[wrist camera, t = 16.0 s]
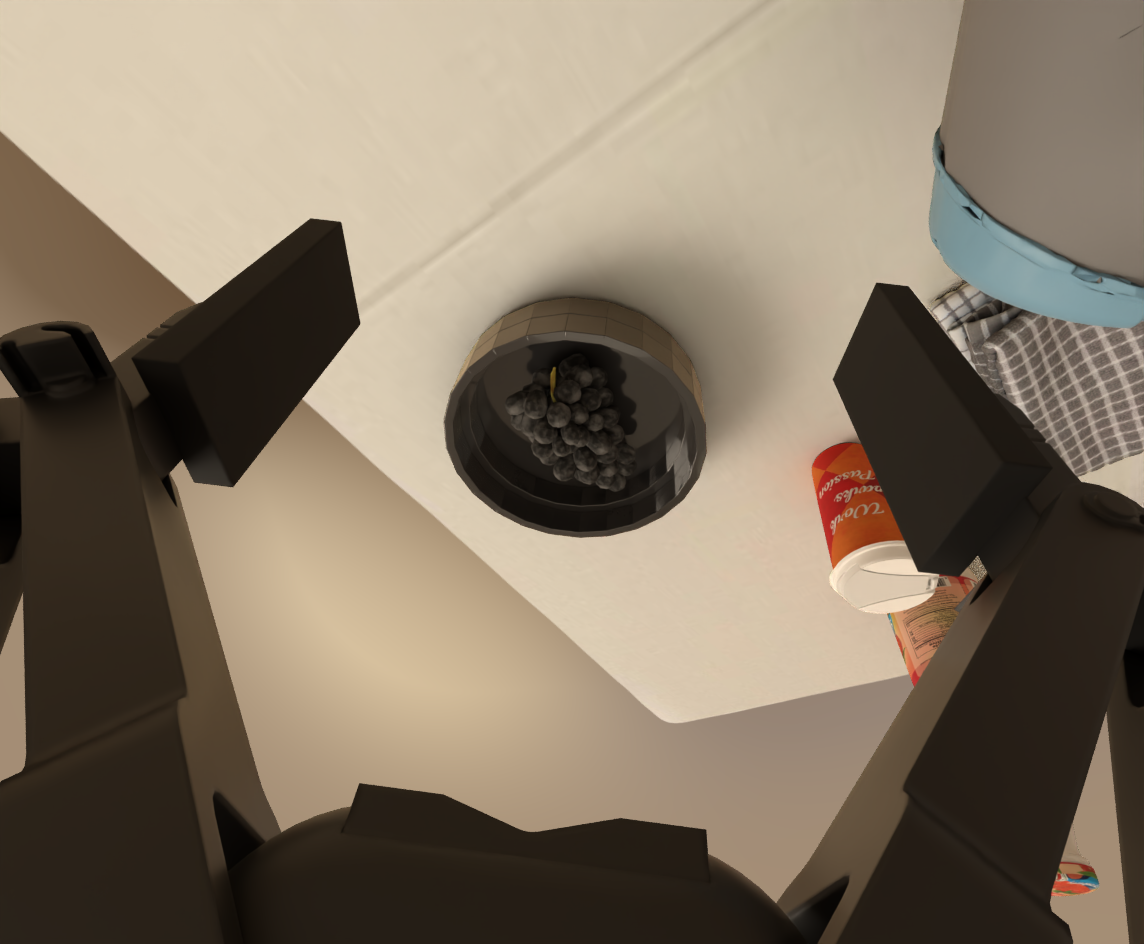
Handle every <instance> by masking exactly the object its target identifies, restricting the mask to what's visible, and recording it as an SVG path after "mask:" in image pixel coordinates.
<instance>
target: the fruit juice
mask: <svg viewBox="0 0 1144 944" xmlns="http://www.w3.org/2000/svg"><path fill="white" fill-rule="evenodd" d="M978 582H979V581H978V579H977V578H976V576H975V575H974V573H973V572H972V571H971V570H970V569H969V568H968V567H967V568H966V570H965V571H964V572H963V573H962V574H961V575H960V577H955V576H947V575H939V579H938V583H937V588H935V593H934V594H933V595H932V596H931V597H930V598H929V599H928V600H926V601H925V602H923V603H921V604H919V605H917V606H915V607H913V608H910V609H907V610H903V611H899V612H893V613H887V615H888V618H889V620H890V623H891V626H892V628H893V631H894V634H895V637H896V639H897V642H898V645H899V647H900V650H901V653H902V656H903V658H904V661H905V664H906V666H907V669H908V672H909V675H910V677H911V680H912V683H913V685H914V687H915V685H916V683H917V682H918V680H919V678H920V677H921V675H922V673H923V672H924V670H925V668H926V667H927V665H928V663H929V662H930V660H931V658H932V657H933V655H934V653H935V652H936V650H937V649H938V647H939V645H940V644H941V642H942V640H943V639H944V637H945V635H946V634H947V632H948V630H949V629H950V627H951V625H952V624H953V622H954V620H955V619H956V617H957V615H958V614H959V612H957V611H956V610H954V609H955V608H956V606H957V605H958V604H959V603H960V602H961V601H962V600H963V599H964V598H965V597H966V595H967V594H968V593H969V592H970V591H971V590H972V589H973V588H974V587H975V586H976V584H977V583H978ZM1098 888H1099V882H1098V879H1097V876H1096V874H1095V871H1094V869H1093V868H1092V867H1091V866H1090V863H1089V861H1088V860H1087V859H1086V858H1084V857H1082V856H1081V854H1080V852H1079V849H1078V846H1077V842H1076V838H1075V832H1074V827H1073V823H1072V826H1071V829H1070V833H1069V836H1068V839H1067V843H1066V846H1065V849H1064V853H1063V856H1062V859H1061V862H1060V866H1059V869H1058V872H1057V876H1056V879H1055V882H1054V886H1053V889H1052V893H1051V896H1072V895H1080V894H1085V893H1089V892H1092V891H1095V890H1097V889H1098Z"/></svg>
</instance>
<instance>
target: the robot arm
mask: <svg viewBox="0 0 1144 944" xmlns="http://www.w3.org/2000/svg"><path fill="white" fill-rule="evenodd" d="M932 150H933V162H934V165H935V175H934V183H933V190H932V198H931V205H930V213H929V229H930V235H931V239H932V241H933V243H934V244H935V246H936V247H937V248H938V250H939V251H940V254H941V255H942V257H943V260H944V262H945V263H946V264H947V266H948V267H949V268H950V269H951V270H952V271H953V272H954V273H956V274H957V275H958V276H959V277H961V278H962V279H963V280H964V281H966V282H967V283H969V284H970V285H972V286H973V287H975V288H976V289H978V290H980V291H982V292H983V293H985V294H987V295H989V296H991V297H993V298H995V299H998V300H1000V301H1002V302H1005V303H1007V304H1010V305H1012V306H1015V307H1018V308H1021V309H1024V310H1027V311H1030V312H1033V313H1036V314H1040V315H1043V316H1047V317H1051V318H1056V319H1060V320H1064V321H1069V322H1074V323H1080V324H1086V325H1093V326H1102V327H1114V328H1127V329H1128V328H1132V327H1134V326H1136V325H1137V324H1139V323H1140V322H1141V321H1144V0H965V1H964V6H963V11H962V17H961V22H960V27H959V33H958V38H957V43H956V48H955V54H954V59H953V64H952V70H951V75H950V80H949V85H948V91H947V96H946V101H945V107H944V112H943V117H942V122H941V125H940V127H939V128H938V130H937V131H936V133H935V137H934V142H933V148H932ZM359 325H360V319H359V314H358V308H357V303H356V298H355V292H354V287H353V282H352V277H351V271H350V266H349V261H348V255H347V250H346V245H345V239H344V234H343V229H342V224H341V222H337V221H328V220H320V219H309V220H308V221H307V222H305V223H304V224H303V225H302V226H300V227H299V228H298V229H296V230H295V231H294V232H293V233H291V234H290V235H289V236H287V237H286V238H285V239H284V240H282V241H281V242H280V243H278V244H277V245H276V246H275V247H273V248H272V249H271V250H269V251H268V252H267V253H266V254H264V255H263V256H262V257H260V258H259V259H258V260H257V261H255V262H254V263H253V264H251V265H250V266H249V267H247V268H246V269H245V270H244V271H242V272H241V273H240V274H238V275H237V276H236V277H235V278H233V279H232V280H231V281H229V282H228V283H227V284H226V285H224V286H223V287H222V288H220V289H219V290H218V291H217V292H215V293H214V294H213V295H211V296H210V297H209V298H208V299H206V300H205V301H204V302H201V303H198V304H196V305H194V306H191V307H189V308H186V309H184V310H181V311H179V312H177V313H175V314H174V315H173V316H171V317H170V318H169V319H167V320H166V321H165V322H163V323H162V324H161V325H160V328H155V329H154V330H153V331H152V332H150V333H149V334H148V335H147V338H142V339H141V340H140V341H138V342H137V343H136V344H135V345H133V346H132V347H130V348H129V349H128V350H126V351H125V352H124V353H122V354H121V355H120V356H118V357H117V358H116V359H115V360H113V361H112V362H109V360H108V358H107V356H106V355H105V352H104V350H103V348H102V347H101V345H100V343H99V341H98V339H97V337H96V335H95V334H94V332H93V331H92V329H91V328H90V327H89V326H88V325H85V324H82V323H79V322H70V321H56V322H46V323H39V324H35V325H31V326H27V327H23V328H20V329H17V330H15V331H12V332H10V333H8V334H5V335H3V336H2V337H1V338H0V370H1V371H2V373H3V374H4V376H5V377H6V379H7V380H8V381H9V383H10V384H11V385H12V387H13V389H14V390H15V391H16V393H17V394H18V396H19V397H17V398H16V397H15V398H1V399H0V654H1V651H2V648H3V645H4V642H5V640H6V637H7V634H8V632H9V629H10V626H11V623H12V620H13V618H14V615H15V612H16V610H17V607H18V604H19V601H20V599H21V596H22V593H23V611H24V613H23V614H24V659H25V660H24V664H25V713H26V761H25V767H24V768H23V770H22V772H20V773H18V774H15V775H13V776H11V777H9V778H7V779H4V780H2V781H1V782H0V944H1073V939H1072V936H1071V932H1070V928H1069V925H1068V924H1067V923H1065V922H1064V921H1063V920H1062V919H1061V918H1059V917H1058V916H1057V915H1056V914H1054V913H1053V912H1052V910H1051V906H1050V899H1051V893H1052V889H1053V886H1054V882H1055V879H1056V876H1057V872H1058V869H1059V866H1060V862H1061V859H1062V856H1063V853H1064V849H1065V846H1066V843H1067V839H1068V836H1069V833H1070V829H1071V826H1072V823H1073V820H1074V816H1075V813H1076V810H1077V806H1078V803H1079V799H1080V796H1081V793H1082V789H1083V786H1084V783H1085V780H1086V777H1087V773H1088V770H1089V767H1090V763H1091V760H1092V756H1093V754H1094V750H1095V747H1096V744H1097V740H1098V737H1099V734H1100V730H1101V727H1102V724H1103V721H1104V717H1105V714H1106V712H1107V722H1108V732H1109V741H1110V752H1111V762H1112V772H1113V782H1114V792H1115V802H1116V812H1117V822H1118V833H1119V843H1120V852H1121V863H1122V873H1123V883H1124V893H1125V903H1126V913H1127V923H1128V932H1129V944H1144V508H1142V507H1141V506H1140V505H1139V504H1137V503H1136V502H1135V501H1133V500H1131V499H1129V498H1128V497H1126V496H1124V495H1122V494H1120V493H1119V492H1116V491H1114V490H1111V489H1108V488H1106V487H1103V486H1100V485H1095V484H1090V483H1085V482H1081V481H1080V480H1079V479H1078V477H1077V476H1076V475H1075V474H1074V473H1073V471H1072V470H1071V469H1070V468H1069V467H1068V465H1067V464H1066V463H1065V462H1064V461H1063V459H1062V458H1061V457H1060V456H1059V455H1058V453H1057V452H1056V451H1055V450H1054V449H1053V447H1052V446H1051V445H1050V444H1049V443H1046V439H1045V438H1044V436H1043V435H1042V434H1041V433H1040V432H1039V430H1037V429H1034V427H1035V426H1034V424H1033V423H1032V422H1031V421H1030V420H1029V418H1028V417H1027V416H1026V415H1025V414H1024V412H1023V411H1022V410H1021V409H1020V408H1018V407H1017V406H1015V405H1014V404H1013V403H1011V402H1010V401H1008V400H1007V399H1006V398H1004V397H1003V396H1001V395H1000V394H997V393H993V392H992V391H991V389H990V388H989V387H988V386H987V384H986V383H985V382H984V381H983V379H982V378H981V377H980V376H979V374H978V373H977V372H976V371H975V369H974V368H973V367H972V366H971V364H970V363H969V362H968V361H967V359H966V358H965V357H964V356H963V354H962V353H961V352H960V351H959V349H958V348H957V347H956V345H955V344H954V343H953V342H952V340H951V339H950V338H949V337H948V335H947V334H946V333H945V332H944V330H943V329H942V328H941V327H940V325H939V324H938V323H937V322H936V320H935V319H934V318H933V317H932V315H931V314H930V313H929V312H928V310H927V309H926V308H925V307H924V305H923V304H922V303H921V302H920V300H919V299H918V298H917V297H916V295H915V294H914V293H913V292H912V290H911V289H910V288H909V287H908V286H901V285H892V284H883V283H876V285H875V287H874V289H873V291H872V294H871V296H870V298H869V300H868V302H867V305H866V307H865V309H864V311H863V314H862V316H861V318H860V320H859V322H858V325H857V327H856V329H855V331H854V334H853V336H852V338H851V340H850V342H849V345H848V347H847V349H846V351H845V353H844V356H843V358H842V360H841V362H840V365H839V367H838V369H837V371H836V373H835V376H834V378H833V381H834V383H835V385H836V388H837V390H838V392H839V394H840V397H841V399H842V401H843V403H844V406H845V408H846V410H847V412H848V415H849V417H850V419H851V421H852V424H853V426H854V428H855V430H856V433H857V435H858V437H859V440H860V442H861V444H862V446H863V449H864V451H865V453H866V455H867V458H868V460H869V462H870V464H871V467H872V469H873V471H874V473H875V476H876V478H877V480H878V482H879V485H880V487H881V489H882V491H883V494H884V496H885V498H886V501H887V503H888V505H889V507H890V510H891V512H892V514H893V516H894V519H895V521H896V523H897V525H898V528H899V530H900V532H901V534H902V537H903V539H904V541H905V543H906V546H907V548H908V550H909V552H910V555H911V557H912V559H913V562H914V564H915V566H916V568H917V571H918V572H923V573H931V574H939V575H947V576H955V577H960V575H961V574H962V573H963V572H964V571H965V570H966V568H967V567H968V566H969V565H970V564H971V563H972V561H973V560H974V559H975V558H976V557H977V556H979V558H980V560H981V562H982V563H983V565H984V567H985V569H986V571H987V573H986V575H985V576H984V577H983V578H982V579H981V580H980V581H979V582H978V583H977V584H976V586H975V587H974V588H973V589H972V590H971V591H970V592H969V593H968V594H967V595H966V597H965V598H964V599H963V600H962V601H961V602H960V603H959V604H958V605H957V606H956V608H955V609H954V610H956V611H957V612H959V614H958V615H957V617H956V619H955V620H954V622H953V624H952V625H951V627H950V629H949V630H948V632H947V634H946V635H945V637H944V639H943V640H942V642H941V644H940V645H939V647H938V649H937V650H936V652H935V653H934V655H933V657H932V658H931V660H930V662H929V663H928V665H927V667H926V668H925V670H924V672H923V673H922V675H921V677H920V678H919V680H918V682H917V683H916V685H915V687H914V689H913V690H912V692H911V693H910V695H909V697H908V698H907V700H906V701H905V703H904V705H903V706H902V708H901V710H900V711H899V713H898V715H897V716H896V718H895V720H894V721H893V723H892V725H891V726H890V728H889V730H888V731H887V733H886V735H885V736H884V738H883V740H882V741H881V743H880V744H879V746H878V748H877V749H876V751H875V753H874V754H873V756H872V758H871V760H870V761H869V763H868V764H867V766H866V768H865V769H864V771H863V773H862V774H861V776H860V778H859V779H858V781H857V782H856V784H855V786H854V787H853V789H852V791H851V792H850V794H849V796H848V797H847V799H846V801H845V802H844V804H843V806H842V807H841V809H840V811H839V812H838V814H837V816H836V817H835V819H834V820H833V822H832V824H831V826H830V827H829V829H828V831H827V832H826V834H825V835H824V837H823V839H822V840H821V842H820V844H819V846H818V847H817V849H816V850H815V852H814V854H813V855H812V857H811V858H810V860H809V861H808V863H807V864H806V865H805V867H804V868H803V869H802V871H801V872H800V873H799V874H798V875H797V877H796V878H795V879H794V880H793V882H792V883H791V884H790V885H789V887H788V888H787V889H786V890H785V892H784V893H783V895H782V896H781V897H780V899H779V900H778V901H777V903H775V902H774V901H773V900H772V899H771V898H770V897H769V896H768V895H767V894H766V893H765V892H764V891H763V890H762V889H761V888H759V887H758V886H757V885H756V884H754V883H753V882H752V881H751V880H749V879H748V878H747V877H745V876H744V875H743V874H742V873H740V872H739V871H737V870H735V869H734V868H732V867H730V866H729V865H727V864H726V863H724V862H723V861H721V860H719V859H718V858H715V857H713V856H711V855H709V854H708V848H707V834H706V830H705V829H698V828H689V827H683V826H674V825H668V824H660V823H652V822H645V821H637V820H630V819H623V818H619V819H613V820H606V821H600V822H594V823H589V824H582V825H576V826H570V827H564V828H558V829H552V830H546V831H540V832H526V831H522V830H520V829H517V828H515V827H513V826H511V825H509V824H507V823H504V822H502V821H500V820H498V819H495V818H493V817H491V816H489V815H487V814H484V813H483V812H480V811H478V810H476V809H474V808H472V807H469V806H467V805H465V804H463V803H461V802H458V801H456V800H454V799H452V798H450V797H448V796H446V795H443V794H435V793H428V792H421V791H413V790H406V789H398V788H391V787H383V786H375V785H368V784H361V783H360V784H359V786H358V789H357V792H356V794H355V798H354V800H353V803H352V806H351V807H346V808H341V809H337V810H334V811H330V812H327V813H324V814H320V815H317V816H315V817H313V818H311V819H308V820H305V821H303V822H301V823H298V824H296V825H294V826H292V827H291V828H289V829H287V830H285V831H283V832H281V830H280V828H279V825H278V823H277V820H276V818H275V816H274V813H273V811H272V809H271V807H270V805H269V803H268V801H267V799H266V796H265V794H264V791H263V789H262V786H261V782H260V779H259V776H258V772H257V769H256V766H255V762H254V758H253V755H252V751H251V748H250V745H249V740H248V737H247V733H246V730H245V727H244V723H243V719H242V716H241V712H240V709H239V705H238V702H237V698H236V694H235V691H234V687H233V684H232V680H231V677H230V674H229V670H228V666H227V663H226V659H225V655H224V652H223V649H222V645H221V641H220V638H219V634H218V631H217V627H216V624H215V620H214V616H213V613H212V610H211V606H210V602H209V599H208V595H207V592H206V588H205V585H204V581H203V578H202V574H201V570H200V567H199V564H198V560H197V556H196V553H195V550H194V546H193V542H192V539H191V535H190V532H189V528H188V524H187V521H186V517H185V514H184V510H183V507H182V503H181V500H180V496H179V492H178V489H177V486H176V484H175V482H174V480H173V479H172V477H171V475H170V472H171V471H172V470H173V469H174V468H175V466H176V465H177V464H178V463H179V462H180V461H181V460H182V459H183V461H184V463H185V465H186V467H187V469H188V471H189V473H190V475H191V477H192V479H193V481H194V482H195V483H203V484H211V485H219V486H227V487H233V486H234V485H235V484H236V483H237V482H238V480H239V479H240V478H241V477H242V475H243V474H244V473H245V471H246V470H247V469H248V468H249V466H250V465H251V464H252V462H253V461H254V460H255V459H256V457H257V456H258V455H259V453H260V452H261V451H262V450H263V448H264V447H265V446H266V444H267V443H268V442H269V440H270V439H271V438H272V437H273V435H274V434H275V433H276V432H277V430H278V429H279V428H280V427H281V425H282V424H283V423H284V421H285V420H286V419H287V418H288V416H289V415H290V414H291V412H292V411H293V410H294V408H295V407H296V406H297V405H298V403H299V402H300V401H301V400H302V398H303V397H304V396H305V394H306V393H307V392H308V391H309V389H310V388H311V387H312V386H313V384H314V383H315V382H316V380H317V379H318V378H319V377H320V375H321V374H322V373H323V371H324V370H325V369H326V368H327V366H328V365H329V364H330V362H331V361H332V360H333V359H334V357H335V356H336V355H337V353H338V352H339V351H340V350H341V348H342V347H343V346H344V344H345V343H346V342H347V341H348V339H349V338H350V337H351V336H352V334H353V333H354V332H355V330H356V329H357V328H358V327H359Z"/></svg>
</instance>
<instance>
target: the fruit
mask: <svg viewBox="0 0 1144 944" xmlns="http://www.w3.org/2000/svg"><path fill="white" fill-rule="evenodd" d="M607 381H608V379H607V373H606V372H605V370H604V369H603V368H600V367H592V368H590V367H589V361H588V360H587V359H586V357H585V356H584V355H582V354H580V353H579V354H573V355H572V356H570V357H568V358H566V359H564V360H562V362H561V363H560V365H559V371H557V373H556V367H553V370H552V371H551V370H549V369H547V368H541V369H538V370H537V371H535V372H534V373H533V378H532V383H531V384H528V385H526V386H523V388H522V390H521V391H518V392H516V393H514V394H512V395H510V396H509V397H508V398H507V400H506V402H505V404H504V405H505V408H506V411H507V412H508V413H509V414H510V415H512V416H511V424H512V425H513V427H514V428H515V429H517V430H521V432H523V433H524V434H525V435H526V436H528V438H529V440H530V441H531V442H532V445H531V448H532V451H533V454H534V455H535V456H536V457H538V458H539V459H540V460H541V462H542V463H543V464H546V465H548V466H550V465H554V464H555V465H554V468H553V473H554V475H555V477H556V478H557V479H559V480H560V481H565V482H566V481H568V480H570V479H572V478H573V477H575V478H576V479H577V480H579V481H581V482H583V483H586V484H589V485H590V484H592V483H594V482H596V484H597V485H598V486H599V487H600V488H604V489H610V490H612V491H614V492H616V491H620V490H621V489H623V488H624V487H625V484H626V479H625V476H629V475H631V474H632V473H634V472H635V470H636V465H637V464H636V462H635V460H634V459H635V452H636V451H635V449H634V448H633V447H632V446H629V445H627V444H624V431H623V429H622V427H621V426H619V425H617V422H618V419H619V417H620V414H621V413H620V410H619V408H618V407H617V406H615V405H613V404H612V403H613V399H614V397H613V393H612V391H611V390H610V389H609V388H604V387H603V386H605V385H606V383H607ZM555 385H557V387H555ZM549 389H551V391H550V392H549V394H547V390H549ZM593 411H594V412H593Z"/></svg>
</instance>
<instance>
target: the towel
mask: <svg viewBox="0 0 1144 944" xmlns="http://www.w3.org/2000/svg"><path fill="white" fill-rule="evenodd" d="M930 311H931V312H932V314H933V315H934V316H935V317H936V318H937V319H938V323H939V325H940V327H941V328H942V329H943V330H944V332H945V333H946V334H947V335H948V337H949V338H950V339H951V340H952V342H953V343H954V344H955V345H956V347H957V348H958V349H959V351H960V352H961V353H962V354H963V356H964V357H965V358H966V359H967V361H968V362H969V363H970V364H971V366H972V367H973V368H974V369H975V371H976V372H977V373H978V374H979V376H980V377H981V378H982V379H983V381H984V382H985V383H986V384H987V386H988V387H989V388H990V389H991V391H992V392H993V393H997V394H1000V395H1001V396H1003V397H1004V398H1006V399H1007V400H1008V401H1010V402H1011V403H1013V404H1014V405H1015V406H1017V407H1018V408H1020V409H1021V410H1022V411H1023V412H1024V414H1025V415H1026V416H1027V417H1028V418H1029V420H1030V421H1031V422H1032V423H1033V424H1034V426H1035V427H1034V429H1037V430H1039V432H1040V433H1041V434H1042V435H1043V436H1044V438H1045V439H1046V443H1049V444H1050V445H1051V446H1052V447H1053V449H1054V450H1055V451H1056V452H1057V453H1058V455H1059V456H1060V457H1061V458H1062V459H1063V461H1064V462H1065V463H1066V464H1067V465H1068V467H1069V468H1070V469H1071V470H1072V471H1073V473H1074V474H1075V475H1076V476H1077V477H1078V476H1082V475H1084V474H1086V473H1088V472H1092V471H1095V470H1098V469H1100V468H1102V467H1103V466H1105V465H1107V464H1112V463H1114V462H1117V461H1119V460H1122V459H1123V458H1126V457H1129V456H1134V455H1137V454H1140V453H1142V452H1143V451H1144V321H1141V322H1140V323H1139V324H1137V325H1136V326H1134V327H1132V328H1128V329H1127V328H1114V327H1102V326H1093V325H1086V324H1080V323H1074V322H1069V321H1064V320H1060V319H1056V318H1051V317H1047V316H1043V315H1040V314H1036V313H1033V312H1030V311H1027V310H1024V309H1021V308H1018V307H1015V306H1012V305H1010V304H1007V303H1005V302H1002V301H1000V300H998V299H995V298H993V297H991V296H989V295H987V294H985V293H983V292H982V291H980V290H978V289H976V288H975V287H973V286H972V285H970V284H969V283H966V284H964V285H962V286H961V287H960V288H959V289H958V290H956V291H952V292H950V293H948V294H946V295H944V297H943V298H941V299H938V300H936V301H935V302H933V303H932V304H931V305H930Z"/></svg>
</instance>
